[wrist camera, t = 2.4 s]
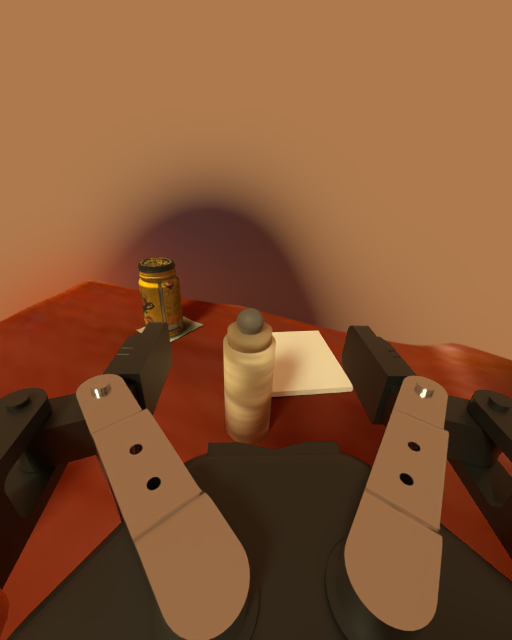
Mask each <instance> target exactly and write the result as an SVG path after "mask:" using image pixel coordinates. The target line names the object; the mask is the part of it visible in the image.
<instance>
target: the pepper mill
mask: <svg viewBox="0 0 512 640" xmlns="http://www.w3.org/2000/svg"><path fill="white" fill-rule="evenodd" d="M223 346H224V387H225V427H226V432H227V434H228V435H229V436H230V437H231V438H232V439H233V440H235V441H236V442H239V443H245V444H252V443H256V442H258V441H260V440H262V439H263V438H264V437H265V436H266V435H267V433H268V431H269V423H270V410H271V398H272V385H273V373H274V361H275V348H276V340H275V338H274V336H273V335H272V328H271V326H270V325H269V324H267V323H266V322H264V319H263V316H262V314H261V313H260V312H259V311H258V310H256V309H253V308H247V309H244V310H243V311H241V312H240V313H239V315H238V317H237V321H235V322H233V323H232V324H230V325H229V327H228V334H227V335H226V336H225V338H224V340H223Z"/></svg>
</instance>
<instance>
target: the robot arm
mask: <svg viewBox="0 0 512 640" xmlns="http://www.w3.org/2000/svg"><path fill="white" fill-rule="evenodd" d="M171 360H172V352H171V344H170V335H169V327H168V323H167V322H148V324H147V325H146V327H145V329H144V330H143V332H142V333H135V334H134V335H132V336H131V337H129V338H128V339H126V341H125V342H124V344H123V345H122V347H121V349H120V350H119V351H118V352H117V355H115V357H114V358H113V360H112V361H111V363H110V364H109V366H108V367H107V369H106V370H105V372H104V373H103V375H99V376H96V377H93V378H91V379H89V380H87V381H85V382H84V383H83V384H81V386H80V387H79V388H78V389H77V392H76V393H75V394H71V395H66V396H61V397H56V398H51V399H48V396H47V394H46V392H45V391H44V390H42V389H39V388H27V389H22V390H18V391H16V392H13V393H10V394H8V395H6V396H4V397H3V398H1V399H0V637H1V633H2V631H3V628H4V625H5V622H6V620H7V616H8V611H9V602H8V598H7V596H6V594H5V593H4V592H3V591H2V589H3V587H4V585H5V583H6V581H7V579H8V577H9V575H10V573H11V571H12V570H13V568H14V566H15V564H16V562H17V560H18V558H19V556H20V554H21V552H22V550H23V548H24V547H25V545H26V543H27V541H28V539H29V537H30V535H31V533H32V531H33V529H34V527H35V525H36V524H37V522H38V520H39V518H40V516H41V514H42V512H43V510H44V508H45V506H46V504H47V502H48V501H49V499H50V497H51V495H52V493H53V491H54V489H55V487H56V485H57V483H58V481H59V479H60V478H61V476H62V474H63V472H64V470H65V468H66V466H67V464H68V462H71V461H75V460H78V459H82V458H86V457H89V456H93V455H96V456H97V459H98V461H99V464H100V467H101V469H102V472H103V475H104V477H105V480H106V483H107V485H108V488H109V491H110V493H111V496H112V499H113V502H114V504H115V507H116V510H117V513H118V516H119V519H120V521H121V523H120V524H119V525H118V526H117V527H116V528H115V529H114V530H113V531H112V532H111V533H110V534H109V535H108V536H107V537H106V538H105V539H104V540H103V541H102V542H101V543H100V544H99V545H98V546H97V547H96V548H95V549H94V550H93V551H92V552H91V553H90V554H89V555H88V556H87V557H86V558H85V559H84V560H83V561H82V562H81V563H80V564H79V565H78V566H77V567H76V568H75V569H74V570H73V571H72V572H71V573H70V574H69V575H68V576H67V577H66V578H65V579H64V580H63V581H62V582H61V583H60V584H59V585H58V586H57V587H56V588H55V589H54V590H53V591H52V592H51V593H50V594H49V595H48V596H47V597H46V598H45V599H44V600H43V601H42V602H41V603H40V604H39V605H38V606H37V607H36V608H35V609H34V610H33V611H32V612H31V613H30V614H29V615H28V616H27V617H26V618H25V619H24V620H23V622H22V623H21V624H20V625H19V626H18V627H17V628H16V629H15V630H14V632H13V633H12V634H11V635H10V636H9V638H8V639H7V640H512V582H511V581H510V580H509V579H508V578H506V577H505V576H504V575H503V574H502V573H500V572H499V571H498V570H497V569H496V568H494V567H493V566H492V565H491V564H489V563H488V562H487V561H486V560H485V559H483V558H482V557H481V556H480V555H479V554H477V553H476V552H475V551H474V550H472V549H471V548H470V547H469V546H468V545H466V544H465V543H464V542H463V541H462V540H460V539H459V538H458V537H457V536H456V535H454V534H453V533H452V532H451V531H449V530H448V529H447V528H446V527H445V526H443V525H442V524H441V523H440V517H441V507H442V497H443V487H444V478H445V468H446V458H447V459H448V461H449V462H450V464H451V465H452V467H453V468H454V470H455V472H456V473H457V475H458V476H459V478H460V479H461V481H462V482H463V484H464V486H465V487H466V489H467V490H468V492H469V493H470V495H471V496H472V498H473V500H474V501H475V503H476V504H477V506H478V507H479V509H480V510H481V512H482V514H483V515H484V517H485V518H486V520H487V521H488V523H489V524H490V526H491V528H492V529H493V531H494V532H495V534H496V535H497V537H498V538H499V540H500V542H501V543H502V545H503V546H504V548H505V549H506V551H507V552H508V554H509V556H510V557H511V559H512V477H511V476H510V475H509V474H508V472H507V471H506V470H505V469H504V467H503V466H502V465H501V464H500V463H499V461H498V460H497V458H498V457H499V455H500V454H501V453H502V452H503V453H504V454H505V455H506V456H507V457H508V459H509V460H510V461H511V462H512V399H510V398H508V397H506V396H504V395H502V394H500V393H497V392H493V391H489V390H478V391H475V392H474V394H473V396H472V398H471V400H467V399H462V398H458V397H453V396H449V395H447V392H446V391H445V389H444V388H443V387H442V386H441V385H439V384H438V383H436V382H435V381H433V380H430V379H428V378H425V377H421V376H417V375H416V374H415V373H414V372H413V371H412V369H411V368H410V367H409V366H408V365H407V363H406V362H405V361H404V360H403V359H402V358H401V356H400V355H399V354H398V353H397V352H396V350H395V349H394V348H393V347H392V346H391V344H390V343H388V342H387V341H385V340H383V339H382V338H381V337H377V336H376V335H375V334H374V333H373V331H372V330H371V329H370V328H369V327H368V326H350V327H349V328H348V331H347V336H346V340H345V345H344V349H343V353H342V365H343V368H344V370H345V372H346V374H347V376H348V378H349V380H350V382H351V384H352V386H353V388H354V390H355V392H356V394H357V396H358V398H359V400H360V402H361V404H362V405H363V407H364V409H365V411H366V413H367V415H368V417H369V419H370V421H371V423H372V424H384V425H385V427H386V429H385V432H384V435H383V438H382V440H381V443H380V446H379V449H378V451H377V454H376V457H375V460H374V463H373V465H372V467H371V466H370V465H368V464H367V463H365V462H363V461H361V460H360V459H357V458H355V457H353V456H350V455H347V454H344V453H340V451H339V448H338V445H337V442H304V443H300V444H296V445H292V446H288V447H284V448H280V449H268V448H263V447H259V446H254V445H250V444H245V443H209V445H208V453H207V454H203V455H200V456H197V457H195V458H193V459H191V460H189V461H187V462H185V463H183V462H182V461H181V459H180V458H179V456H178V454H177V453H176V451H175V450H174V448H173V447H172V445H171V444H170V442H169V441H168V439H167V438H166V436H165V434H164V433H163V431H162V430H161V428H160V427H159V425H158V424H157V422H156V421H155V419H154V417H153V413H154V410H155V407H156V405H157V402H158V399H159V396H160V394H161V391H162V388H163V385H164V383H165V380H166V377H167V374H168V372H169V369H170V366H171Z"/></svg>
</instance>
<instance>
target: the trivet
mask: <svg viewBox="0 0 512 640" xmlns="http://www.w3.org/2000/svg"><path fill="white" fill-rule="evenodd" d="M272 335H273V336H274V338H275V340H276V348H275V361H274V373H273V385H272V397H278V396H293V395H307V394H322V393H336V392H350V391H352V390H353V386H352V384H351V382H350V380H349V379H348V377H347V376H346V374H345V372H344V371H343V369H342V368H341V366H340V364H339V363H338V361H337V360H336V358H335V357H334V355H333V353H332V352H331V350H330V349H329V347H328V345H327V344H326V342H325V341H324V339H323V338H322V336H321V334H320V333H319V331H297V332H272Z"/></svg>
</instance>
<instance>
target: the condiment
mask: <svg viewBox="0 0 512 640" xmlns="http://www.w3.org/2000/svg"><path fill="white" fill-rule="evenodd" d="M138 268H139V271H140V277H141V278H140V280H139V289H140V295H141V300H142V306H143V312H144V319H145V324H146V325H147V324H148V322H167V323H168V327H169V335H170V342H172V341H174V340H175V339H178V338H180V337H182V336H183V335H185V334H187V333H188V332H191V331H192V330H195V329H196V328H198V327H199V326H202V325H203V324H199V323H197V322H195V321H192V320H190V319H187V318H186V317H184V316H183V314H182V304H181V295H180V285H179V279H178V277H177V276H176V275H175V274H176V271H175V264H174V262H173V261H172V260H170V259H167V258H151V259H146V260H143V261H141V262H140V263H139V265H138ZM144 329H145V327H143V328H141V329H139V330H137V331H138V332H140V333H142V332H143V330H144ZM184 330H185V331H184Z"/></svg>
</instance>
